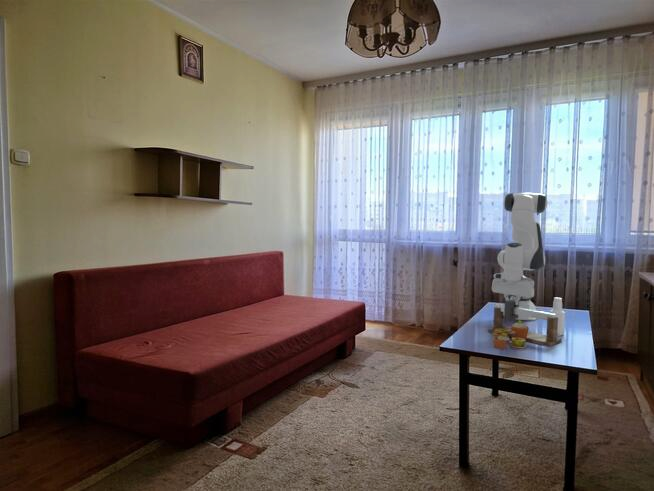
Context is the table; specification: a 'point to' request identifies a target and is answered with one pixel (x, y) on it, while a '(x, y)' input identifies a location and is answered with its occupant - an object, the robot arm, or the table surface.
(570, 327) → the table surface
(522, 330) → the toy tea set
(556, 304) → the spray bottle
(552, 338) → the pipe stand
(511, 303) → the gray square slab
